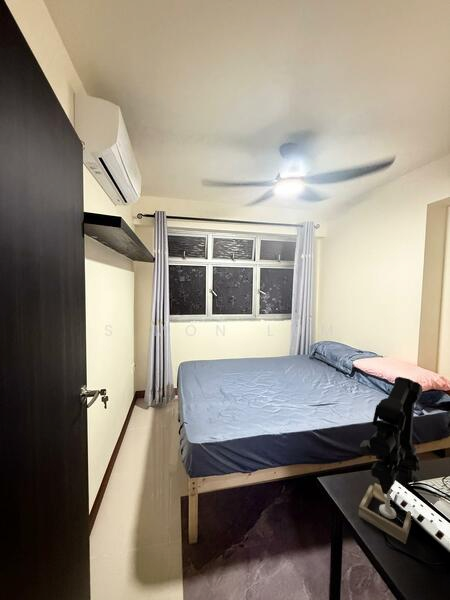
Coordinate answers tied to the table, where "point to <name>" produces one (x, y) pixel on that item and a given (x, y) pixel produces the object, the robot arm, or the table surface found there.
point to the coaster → (379, 493)
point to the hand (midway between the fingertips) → (388, 485)
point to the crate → (383, 519)
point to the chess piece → (387, 507)
